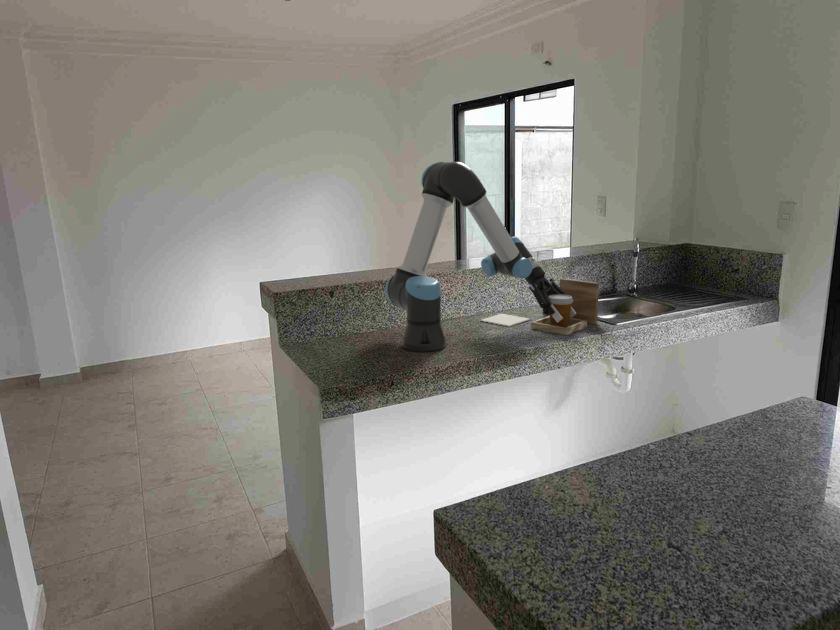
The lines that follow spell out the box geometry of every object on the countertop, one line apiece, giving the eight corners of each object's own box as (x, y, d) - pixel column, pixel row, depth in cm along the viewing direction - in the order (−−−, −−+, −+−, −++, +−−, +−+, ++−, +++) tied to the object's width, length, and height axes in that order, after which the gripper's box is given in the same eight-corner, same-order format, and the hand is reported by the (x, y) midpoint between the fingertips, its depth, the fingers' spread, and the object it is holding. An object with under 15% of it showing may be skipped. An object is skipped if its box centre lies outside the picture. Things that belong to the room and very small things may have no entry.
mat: (509, 327, 232) (509, 325, 232) (480, 321, 242) (480, 319, 242) (529, 320, 242) (529, 318, 242) (501, 314, 252) (501, 313, 251)
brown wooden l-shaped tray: (567, 335, 219) (569, 292, 215) (529, 328, 230) (530, 286, 226) (596, 323, 235) (599, 283, 231) (560, 317, 245) (561, 278, 242)
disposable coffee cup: (544, 329, 227) (545, 298, 224) (547, 323, 236) (549, 293, 233) (570, 331, 224) (572, 300, 221) (572, 325, 233) (574, 295, 230)
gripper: (521, 269, 224) (558, 317, 217) (553, 261, 239) (588, 306, 232) (509, 281, 228) (544, 329, 222) (541, 273, 244) (575, 318, 237)
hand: (566, 317), depth 227 cm, fingers closed on disposable coffee cup, 9 cm apart
